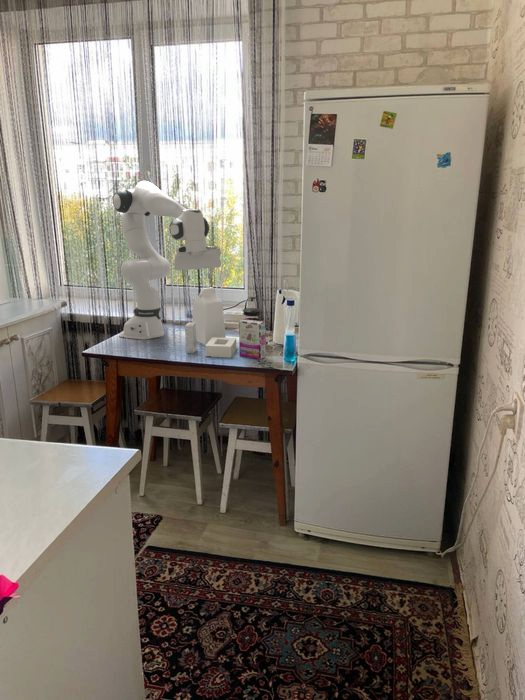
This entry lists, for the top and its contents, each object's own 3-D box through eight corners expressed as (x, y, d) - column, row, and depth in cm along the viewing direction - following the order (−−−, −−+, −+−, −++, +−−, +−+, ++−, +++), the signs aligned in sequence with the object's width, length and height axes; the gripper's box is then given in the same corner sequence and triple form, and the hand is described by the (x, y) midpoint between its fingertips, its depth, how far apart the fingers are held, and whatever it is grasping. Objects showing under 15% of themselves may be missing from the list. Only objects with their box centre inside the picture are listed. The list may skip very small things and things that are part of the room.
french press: (248, 340, 257) (247, 294, 251) (265, 342, 254) (265, 295, 247) (237, 346, 247) (236, 298, 240) (255, 349, 244) (255, 300, 237)
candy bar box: (266, 357, 231) (266, 321, 227) (260, 360, 227) (260, 324, 222) (244, 353, 237) (244, 318, 232) (238, 356, 233) (238, 320, 228)
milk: (205, 345, 250) (203, 291, 242) (192, 339, 258) (190, 287, 251) (225, 340, 257) (224, 288, 249) (212, 335, 266) (211, 285, 258)
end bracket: (186, 353, 238) (184, 325, 234) (189, 349, 243) (188, 322, 239) (193, 353, 237) (192, 325, 233) (196, 349, 243) (195, 322, 239)
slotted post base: (205, 356, 233) (205, 345, 231) (212, 347, 246) (212, 337, 244) (231, 357, 231) (231, 346, 230) (236, 348, 245) (236, 338, 243)
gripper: (220, 245, 229) (222, 276, 233) (173, 248, 228) (176, 280, 231) (220, 245, 223) (223, 278, 226) (172, 249, 221) (175, 281, 225)
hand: (199, 279), depth 229 cm, fingers open, 8 cm apart
